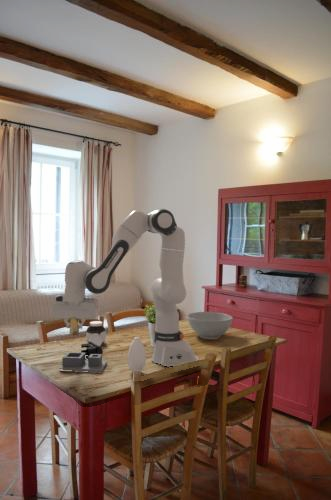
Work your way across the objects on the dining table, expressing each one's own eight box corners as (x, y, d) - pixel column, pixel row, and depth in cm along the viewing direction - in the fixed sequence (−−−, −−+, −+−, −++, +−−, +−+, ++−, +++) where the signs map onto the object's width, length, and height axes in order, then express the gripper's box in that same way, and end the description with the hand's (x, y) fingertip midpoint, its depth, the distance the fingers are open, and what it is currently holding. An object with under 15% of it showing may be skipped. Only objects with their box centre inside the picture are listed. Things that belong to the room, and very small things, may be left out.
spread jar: (99, 340, 217) (99, 319, 216) (111, 344, 209) (111, 323, 208) (80, 344, 208) (81, 323, 208) (92, 349, 200) (93, 326, 200)
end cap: (102, 359, 184) (103, 345, 184) (88, 362, 180) (89, 347, 180) (94, 354, 193) (94, 340, 192) (80, 356, 189) (81, 342, 189)
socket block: (106, 363, 178) (107, 352, 178) (101, 373, 166) (101, 360, 166) (68, 362, 179) (68, 350, 179) (59, 371, 167) (59, 358, 167)
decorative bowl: (179, 333, 237) (179, 313, 236) (216, 329, 248) (216, 310, 248) (201, 344, 212) (201, 322, 212) (241, 340, 224) (242, 319, 223)
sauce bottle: (145, 369, 171) (146, 329, 171) (145, 376, 164) (146, 334, 163) (127, 369, 171) (128, 329, 170) (126, 376, 163) (127, 333, 163)
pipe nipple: (79, 333, 174) (80, 315, 174) (77, 335, 170) (77, 317, 170) (71, 332, 174) (71, 315, 174) (68, 335, 170) (68, 317, 170)
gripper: (99, 296, 174) (99, 327, 175) (54, 295, 175) (54, 325, 176) (96, 299, 168) (95, 330, 168) (50, 297, 169) (49, 329, 170)
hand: (74, 328), depth 172 cm, fingers closed on pipe nipple, 4 cm apart
